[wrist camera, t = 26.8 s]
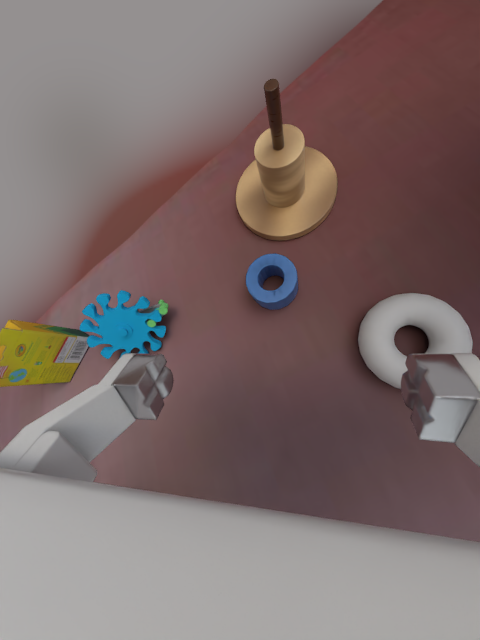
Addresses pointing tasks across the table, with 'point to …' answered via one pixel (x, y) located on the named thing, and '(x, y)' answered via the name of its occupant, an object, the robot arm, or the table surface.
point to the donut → (419, 311)
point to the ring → (265, 269)
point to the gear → (124, 324)
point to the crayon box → (39, 353)
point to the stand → (285, 180)
